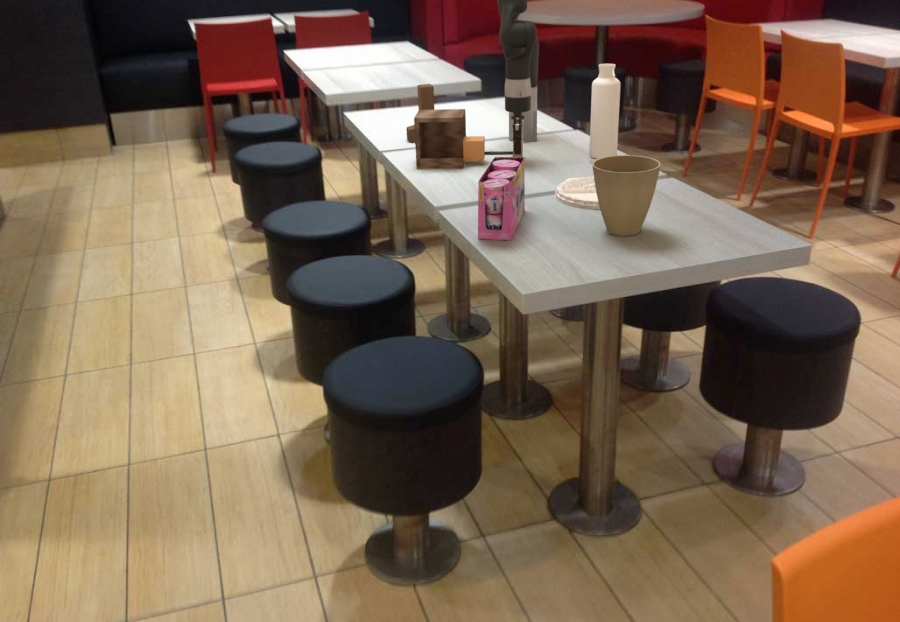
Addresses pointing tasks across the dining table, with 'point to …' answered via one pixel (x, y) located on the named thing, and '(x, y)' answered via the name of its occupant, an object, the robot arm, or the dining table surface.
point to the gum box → (501, 198)
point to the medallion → (578, 193)
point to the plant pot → (625, 191)
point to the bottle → (604, 114)
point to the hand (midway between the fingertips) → (517, 152)
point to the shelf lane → (440, 138)
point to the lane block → (483, 149)
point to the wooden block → (422, 106)
